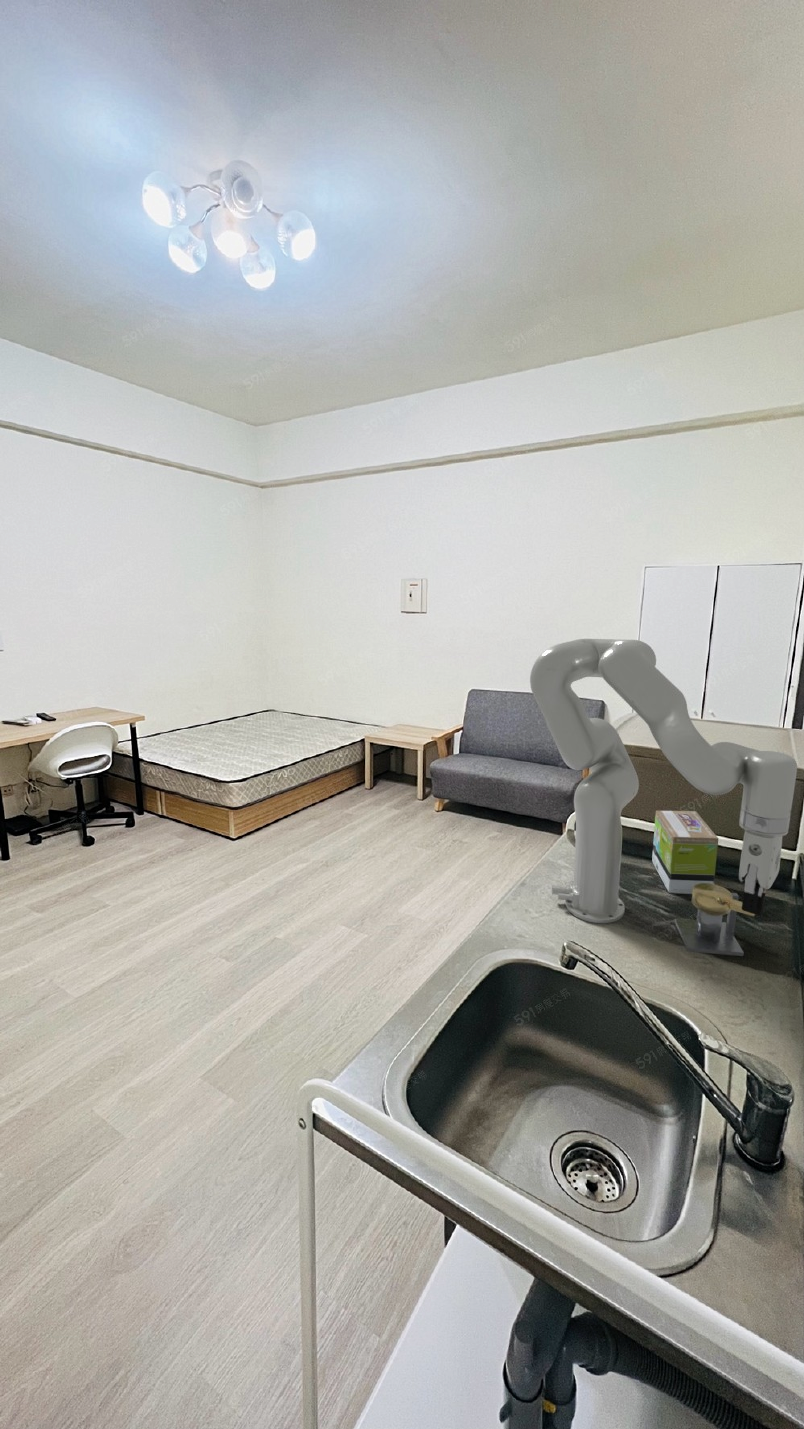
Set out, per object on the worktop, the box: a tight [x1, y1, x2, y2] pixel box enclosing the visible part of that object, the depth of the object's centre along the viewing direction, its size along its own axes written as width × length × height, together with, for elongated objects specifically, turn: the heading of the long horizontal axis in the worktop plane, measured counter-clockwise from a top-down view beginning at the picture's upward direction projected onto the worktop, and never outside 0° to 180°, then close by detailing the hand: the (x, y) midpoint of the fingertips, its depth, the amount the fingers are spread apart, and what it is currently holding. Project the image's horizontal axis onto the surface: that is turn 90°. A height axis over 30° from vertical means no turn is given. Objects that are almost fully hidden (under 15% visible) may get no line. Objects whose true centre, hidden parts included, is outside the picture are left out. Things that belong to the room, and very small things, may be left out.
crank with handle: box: [691, 883, 767, 917], centre depth 114 cm, size 12×7×7 cm, turn 52°
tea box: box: [651, 809, 719, 895], centre depth 139 cm, size 15×10×15 cm, turn 172°
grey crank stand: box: [674, 892, 745, 957], centre depth 117 cm, size 10×10×9 cm
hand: (752, 910), depth 108 cm, fingers closed
